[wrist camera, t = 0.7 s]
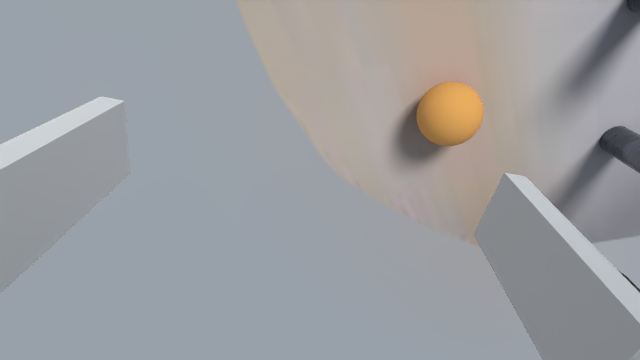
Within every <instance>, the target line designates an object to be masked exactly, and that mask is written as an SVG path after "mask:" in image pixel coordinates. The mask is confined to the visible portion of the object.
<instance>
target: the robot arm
mask: <svg viewBox="0 0 640 360" xmlns="http://www.w3.org/2000/svg"><path fill="white" fill-rule="evenodd" d="M129 174H130V162H129V150H128V138H127V125H126V113H125V101H122V100H117V99H111V98H106V97H99V98H97V99H95V100H92V101H90V102H88V103H86V104H84V105H82V106H80V107H78V108H76V109H74V110H72V111H69V112H67V113H65V114H64V115H61V116H59V117H57V118H55V119H53V120H51V121H49V122H46V123H44V124H42V125H40V126H38V127H36V128H34V129H32V130H30V131H28V132H26V133H24V134H21V135H19V136H18V137H15V138H13V139H11V140H9V141H7V142H5V143H3V144H1V145H0V294H1V292H3V291H4V290H5V289H6V288H7V287H8V286H9V285H10V284H11V283H12V282H13V281H15V280H16V279H17V278H18V277H19V276H20V275H21V274H22V273H23V272H24V271H25V270H26V269H28V268H29V267H30V266H31V265H32V264H33V263H34V262H35V261H36V260H37V259H38V258H39V257H41V256H42V255H43V254H44V253H45V252H46V251H47V250H48V249H49V248H50V247H51V246H52V245H54V244H55V243H56V242H57V241H58V240H59V239H60V238H61V237H62V236H63V235H64V234H65V233H66V232H68V231H69V230H70V229H71V228H72V227H73V226H74V225H75V224H76V223H77V222H78V221H80V220H81V219H82V218H83V217H84V216H85V215H86V214H87V213H88V212H89V211H90V210H91V209H92V208H94V207H95V206H96V205H97V204H98V203H99V202H100V201H101V200H102V199H103V198H104V197H106V196H107V195H108V194H109V193H110V192H111V191H112V190H113V189H114V188H115V187H116V186H117V185H119V184H120V183H121V182H122V181H123V180H124V179H125V178H126V177H127V176H128V175H129ZM474 236H475V238H476V240H477V241H478V243H479V245H480V247H481V249H482V250H483V252H484V254H485V256H486V258H487V259H488V261H489V263H490V265H491V267H492V268H493V270H494V272H495V274H496V276H497V278H498V279H499V281H500V283H501V285H502V286H503V288H504V290H505V292H506V294H507V296H508V297H509V299H510V301H511V303H512V305H513V306H514V308H515V310H516V312H517V314H518V315H519V317H520V319H521V321H522V322H523V324H524V326H525V328H526V330H527V332H528V334H529V335H530V337H531V339H532V341H533V343H534V344H535V346H536V348H537V350H538V352H539V353H540V355H541V357H542V359H543V360H640V290H639V289H638V288H637V287H636V286H635V285H634V284H633V283H632V282H631V281H630V280H629V278H627V277H626V276H625V275H624V274H622V273H621V272H620V271H618V270H617V269H616V268H615V267H614V266H613V265H612V264H611V263H610V262H609V261H608V260H607V259H606V258H605V257H604V256H603V255H602V254H601V253H600V252H599V251H598V250H597V249H596V248H595V247H594V246H593V245H592V244H591V243H590V242H589V241H588V240H587V239H586V238H585V237H584V236H583V235H582V234H581V233H580V232H579V231H578V230H577V229H576V228H575V226H574V225H573V224H572V223H571V222H570V221H569V220H568V219H567V218H566V217H565V216H564V215H563V214H562V213H561V212H560V211H559V210H558V209H557V208H556V207H555V206H554V205H553V204H552V203H551V202H550V201H549V200H548V199H547V198H546V197H545V196H544V195H543V194H542V193H541V192H540V191H539V190H538V189H537V188H536V187H535V186H534V185H533V184H532V183H531V182H530V181H529V180H528V179H527V178H526V177H525V176H519V175H514V174H509V173H504V175H503V177H502V179H501V181H500V183H499V185H498V187H497V189H496V191H495V193H494V195H493V197H492V199H491V201H490V203H489V205H488V207H487V209H486V211H485V213H484V215H483V217H482V219H481V221H480V223H479V225H478V227H477V229H476V231H475V233H474Z"/></svg>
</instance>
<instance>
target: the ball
mask: <svg viewBox="0 0 640 360" xmlns="http://www.w3.org/2000/svg"><path fill="white" fill-rule="evenodd" d="M482 120H483V104H482V101H481V99H480V97H479V95H478V94H477V93H476V92H475V91H474V90H473V89H472V88H470V87H469V86H467V85H465V84H462V83H458V82H446V83H442V84H439V85H437V86H435V87H433V88H432V89H430V90H429V91H428V92H427V93H426V94H425V95H424V96H423V98H422V99H421V101H420V103H419V105H418V108H417V123H418V126H419V129H420V131H421V132H422V134H423V135H424V136H425V137H426V138H427V139H428V140H430V141H431V142H433V143H435V144H438V145H443V146H453V145H458V144H461V143H463V142H465V141H467V140H468V139H470V138H471V137H472V136H473V135H474V134H475V133H476V132H477V130H478V129H479V127H480V125H481V123H482Z"/></svg>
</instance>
